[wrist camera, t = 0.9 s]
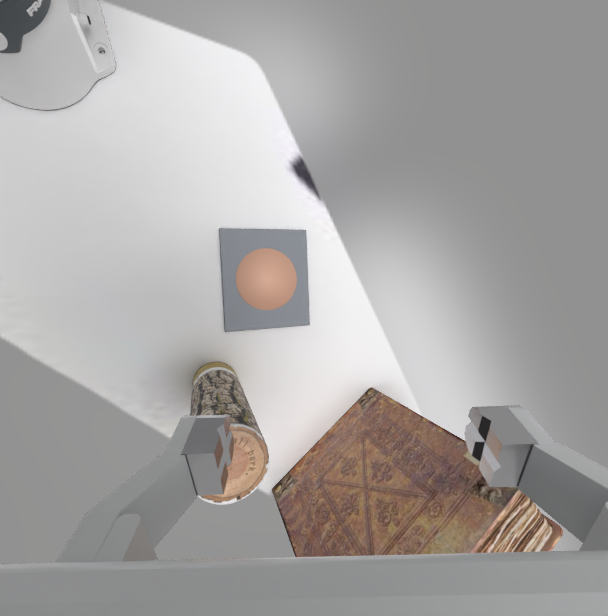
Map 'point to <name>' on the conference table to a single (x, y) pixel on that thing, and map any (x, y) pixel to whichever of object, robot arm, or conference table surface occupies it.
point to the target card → (264, 278)
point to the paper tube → (231, 429)
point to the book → (401, 492)
